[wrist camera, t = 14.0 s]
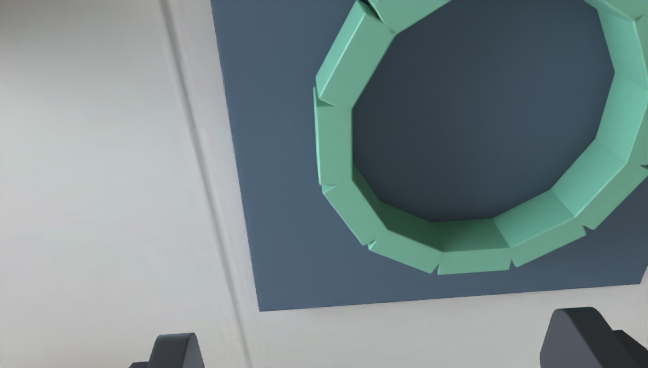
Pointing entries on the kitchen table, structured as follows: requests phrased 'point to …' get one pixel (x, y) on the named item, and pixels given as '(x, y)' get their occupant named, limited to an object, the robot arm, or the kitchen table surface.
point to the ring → (517, 223)
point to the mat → (420, 143)
